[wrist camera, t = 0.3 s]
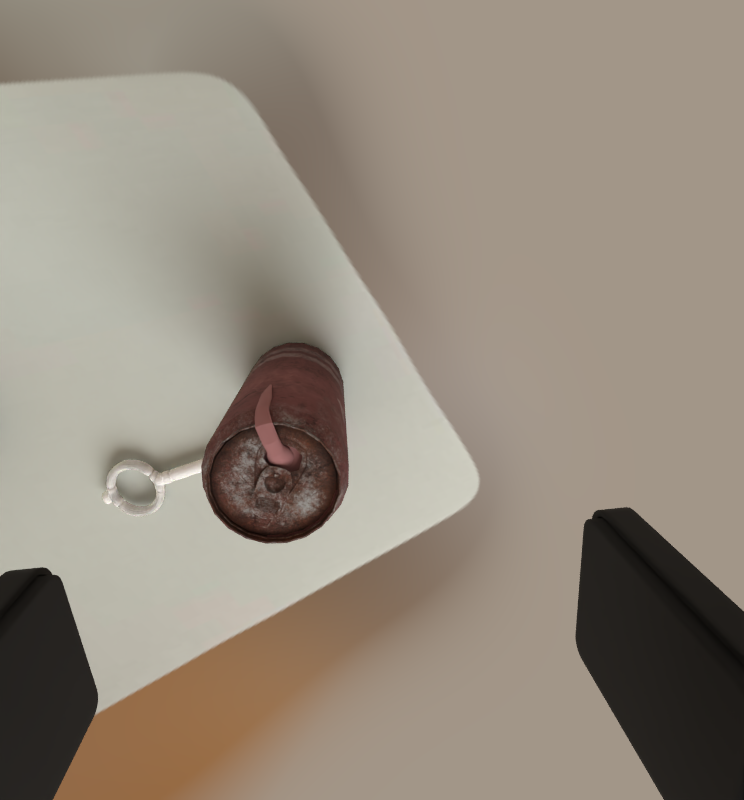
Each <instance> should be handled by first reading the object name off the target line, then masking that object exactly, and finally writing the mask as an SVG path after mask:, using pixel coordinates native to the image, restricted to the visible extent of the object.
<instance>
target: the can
mask: <svg viewBox="0 0 744 800" xmlns="http://www.w3.org/2000/svg"><path fill="white" fill-rule="evenodd" d="M201 469H202V481H203V488H204V490H205V492H206V496H207V499H208V501H209V503H210V505H211V507H212V509H213V512H214V514H215V515H216V516H217V517H218V518H219V519H220V520H221V521H222V522H223V523H224V524H225V525H226V526H227V528H229V529H230V530H232V531H234V532H236V533H237V534H239V535H241V536H243V537H244V538H246V539H250V540H254V541H258V542H262V543H288V542H291V541H294V540H298V539H301V538H304V537H307V536H308V535H310V534H311V533H313V532H314V531H316V530H317V529H319V528H320V527H322V526H323V525H324V523H325V522H326V521H328V520H329V518H330V517H331V516H332V515H333V514H334V512H335V511H336V510H337V509H338V507H339V506H340V505H341V503H342V501H343V498H344V495H345V493H346V490H347V487H348V471H349V464H348V449H347V434H346V419H345V404H344V389H343V380H342V377H341V374H340V371H339V368H338V367H337V366H336V364H335V363H334V361H333V360H332V359H331V357H330V356H328V355H327V354H326V353H324V352H323V351H321V350H320V349H319V348H317V347H314V346H310V345H307V344H304V343H286V344H283V345H280V346H276V347H273V348H272V349H271V350H269V351H268V352H266V353H265V354H264V355H262V356H261V357H260V359H259V360H258V362H257V363H256V364H255V366H254V367H253V369H252V370H251V372H250V374H249V375H248V377H247V379H246V380H245V382H244V384H243V386H242V387H241V389H240V391H239V392H238V394H237V396H236V397H235V399H234V401H233V402H232V404H231V406H230V407H229V409H228V411H227V412H226V414H225V416H224V418H223V419H222V421H221V423H220V424H219V426H218V428H217V429H216V431H215V433H214V434H213V436H212V438H211V439H210V441H209V443H208V444H207V447H206V450H205V454H204V458H203V461H202V465H201Z"/></svg>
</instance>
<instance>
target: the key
mask: <svg viewBox="0 0 744 800" xmlns="http://www.w3.org/2000/svg"><path fill="white" fill-rule="evenodd" d="M202 461H203V459H200V460H197V461H194V462H191V463H188V464H185V465H182V466H179V467H176V468H173V469H172V470H171V471H170V470H166V471H163V472H162V473H158V472H157V471H156V470H153V467H152V466H150V465H149V464H147V463H145V462H142V461H139V460H125V461H121V462H119V463H117V464H116V465H115V466H114V467H113V468H112V469H111V470H110V472H109V474H108V476H107V480H106V486H107V491H105V492H104V493H103V494H102V500H103V501H104V502H105V503H106V504H109V503H112V502H113V504H114V505H115V506H118V507H119V509H120V510H121V511H123V512H124V513H126V514H129V515H132V516H147V515H150V514H152V513H154V512H155V511H157V510H158V509H159V508H160V506H161V505H162V503H163V501H164V498H165V490H164V488H165V484H169V483H171V482H173V481H176V480H179V479H182V478H185V477H188V476H191V475H194V474H196V473H199V472H202V469H201V465H202ZM128 469H132V470H137V471H140V472H142V473H144V474H145V475H149V478H150V480H151V481H152V482H153V484H154V486H155V489H156V491H157V493H156V498H155V500H154V502H153V503H151V504H150V505H148V506H135V505H132V504H130V503H128V502H127V501H124V500H123V497H122V496H121V495H120V494H119V492H118V490H117V486H116V485H115V484H116V478H117V476H118V474H119V473H120V472H122V471H124V470H128Z"/></svg>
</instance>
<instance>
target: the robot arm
mask: <svg viewBox="0 0 744 800" xmlns="http://www.w3.org/2000/svg"><path fill="white" fill-rule="evenodd" d="M578 598H579V599H578V610H577V624H576V644H577V648H578V651H579V654H580V656H581V658H582V660H583V662H584V664H585V665H586V667H587V669H588V671H589V672H590V674H591V676H592V677H593V679H594V681H595V683H596V684H597V686H598V688H599V689H600V691H601V693H602V694H603V696H604V698H605V700H606V701H607V703H608V705H609V707H610V708H611V710H612V712H613V713H614V715H615V717H616V718H617V720H618V722H619V724H620V725H621V727H622V729H623V730H624V732H625V734H626V735H627V737H628V739H629V741H630V742H631V744H632V746H633V748H634V749H635V751H636V753H637V754H638V756H639V758H640V759H641V761H642V763H643V764H644V766H645V768H646V770H647V771H648V773H649V775H650V777H651V778H652V780H653V782H654V783H655V785H656V787H657V789H658V790H659V792H660V794H661V795H662V797H663V799H664V800H744V611H742V610H741V609H740V608H739V607H738V606H737V605H736V604H735V603H734V602H733V601H731V599H729V598H728V597H727V596H726V595H725V594H724V593H723V592H722V591H721V590H720V589H719V588H718V587H716V586H715V585H714V584H713V583H712V582H711V581H710V580H709V579H708V578H707V577H706V576H704V575H703V574H702V573H701V572H700V571H699V570H698V569H697V568H696V567H695V566H693V564H691V563H690V562H689V561H688V560H687V559H686V558H685V557H684V556H683V555H682V554H681V553H679V552H678V551H677V550H676V549H675V548H674V547H673V546H672V545H671V544H670V543H668V541H666V540H665V539H664V538H663V537H662V536H661V535H660V534H659V533H658V532H657V531H656V530H654V529H653V528H652V527H651V526H650V525H649V524H648V523H647V522H646V521H644V519H642V518H641V517H640V516H639V515H638V514H637V513H636V512H635V511H634V510H632V509H631V508H627V507H626V508H615V509H605V510H597V511H596V512H594V514H593V516H592V519H588V520H586V522H585V524H584V532H583V545H582V558H581V572H580V584H579V597H578ZM97 703H98V693H97V688H96V685H95V682H94V679H93V676H92V673H91V670H90V667H89V663H88V660H87V657H86V654H85V651H84V648H83V645H82V642H81V639H80V636H79V633H78V629H77V626H76V623H75V620H74V617H73V614H72V611H71V608H70V605H69V602H68V598H67V595H66V592H65V589H64V586H63V583H62V581H61V579H60V577H59V576H57V575H52V573H51V572H50V571H49V570H48V569H47V568H43V567H42V568H32V569H22V570H13V571H8V572H5V573H4V574H3V575H1V576H0V800H53V798H54V796H55V794H56V792H57V790H58V788H59V786H60V784H61V782H62V780H63V778H64V776H65V774H66V772H67V770H68V768H69V766H70V764H71V762H72V760H73V757H74V756H75V754H76V752H77V750H78V747H79V745H80V743H81V742H82V739H83V737H84V735H85V733H86V731H87V729H88V727H89V725H90V723H91V721H92V719H93V717H94V715H95V712H96V709H97Z"/></svg>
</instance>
